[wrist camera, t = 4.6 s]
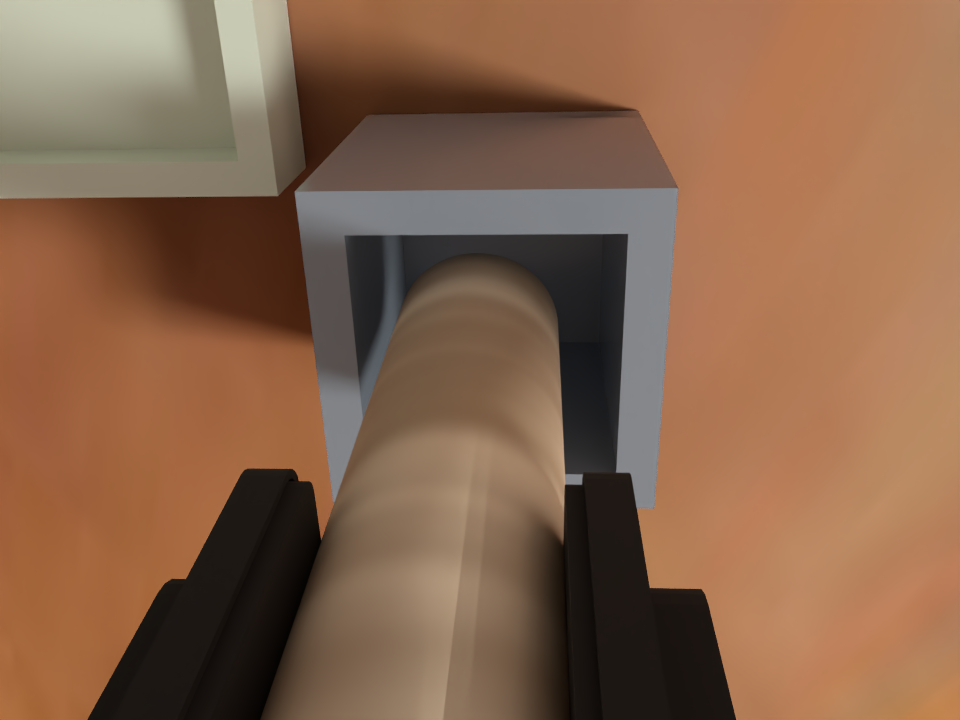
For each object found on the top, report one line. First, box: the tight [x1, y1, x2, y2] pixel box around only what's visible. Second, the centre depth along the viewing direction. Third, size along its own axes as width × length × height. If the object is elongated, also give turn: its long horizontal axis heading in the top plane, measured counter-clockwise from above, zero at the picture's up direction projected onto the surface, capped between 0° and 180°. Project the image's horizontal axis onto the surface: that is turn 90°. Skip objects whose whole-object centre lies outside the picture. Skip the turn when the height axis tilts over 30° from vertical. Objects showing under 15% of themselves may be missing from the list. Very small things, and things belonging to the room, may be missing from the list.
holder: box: [295, 111, 678, 509], centre depth 19 cm, size 7×7×7 cm
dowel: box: [260, 253, 570, 720], centre depth 11 cm, size 3×3×12 cm
